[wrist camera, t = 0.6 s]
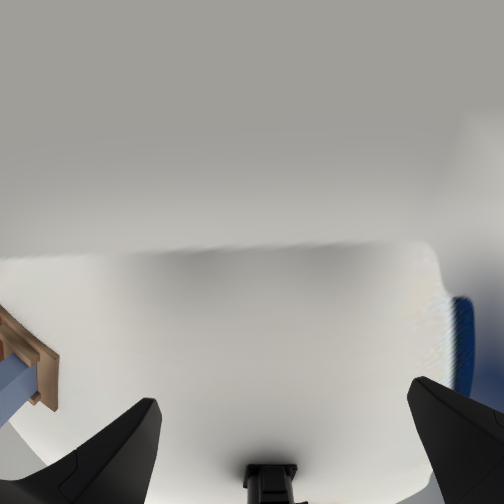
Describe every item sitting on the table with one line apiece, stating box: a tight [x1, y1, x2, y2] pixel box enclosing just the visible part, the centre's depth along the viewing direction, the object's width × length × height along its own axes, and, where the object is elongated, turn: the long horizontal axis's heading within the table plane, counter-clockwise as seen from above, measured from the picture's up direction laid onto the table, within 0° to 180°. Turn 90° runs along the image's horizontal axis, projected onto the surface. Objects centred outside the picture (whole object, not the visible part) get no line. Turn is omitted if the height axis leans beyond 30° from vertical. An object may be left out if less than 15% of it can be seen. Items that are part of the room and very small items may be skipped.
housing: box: [0, 306, 59, 412], centre depth 21 cm, size 12×11×5 cm
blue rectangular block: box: [0, 353, 37, 428], centre depth 17 cm, size 3×6×12 cm, turn 154°
